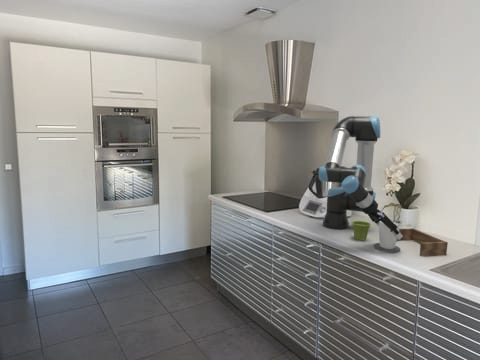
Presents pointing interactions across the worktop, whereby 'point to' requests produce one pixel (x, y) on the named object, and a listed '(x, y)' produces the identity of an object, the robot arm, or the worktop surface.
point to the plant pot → (360, 230)
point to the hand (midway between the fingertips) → (393, 234)
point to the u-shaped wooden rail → (425, 242)
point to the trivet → (377, 246)
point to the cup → (387, 236)
